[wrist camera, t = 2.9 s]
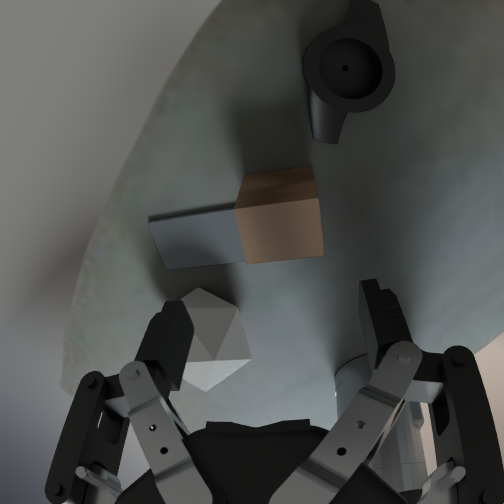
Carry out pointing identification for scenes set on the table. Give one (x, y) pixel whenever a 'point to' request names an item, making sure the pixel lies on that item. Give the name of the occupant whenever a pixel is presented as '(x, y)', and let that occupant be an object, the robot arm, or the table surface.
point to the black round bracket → (355, 77)
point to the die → (214, 340)
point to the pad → (198, 239)
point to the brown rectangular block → (279, 216)
